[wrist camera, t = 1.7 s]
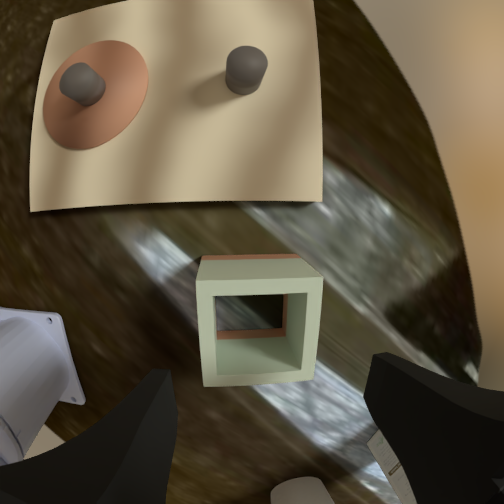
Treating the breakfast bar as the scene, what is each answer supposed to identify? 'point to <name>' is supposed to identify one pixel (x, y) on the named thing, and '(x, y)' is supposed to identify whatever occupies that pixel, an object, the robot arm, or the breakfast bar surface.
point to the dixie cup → (301, 492)
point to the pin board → (179, 105)
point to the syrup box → (391, 467)
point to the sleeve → (259, 340)
